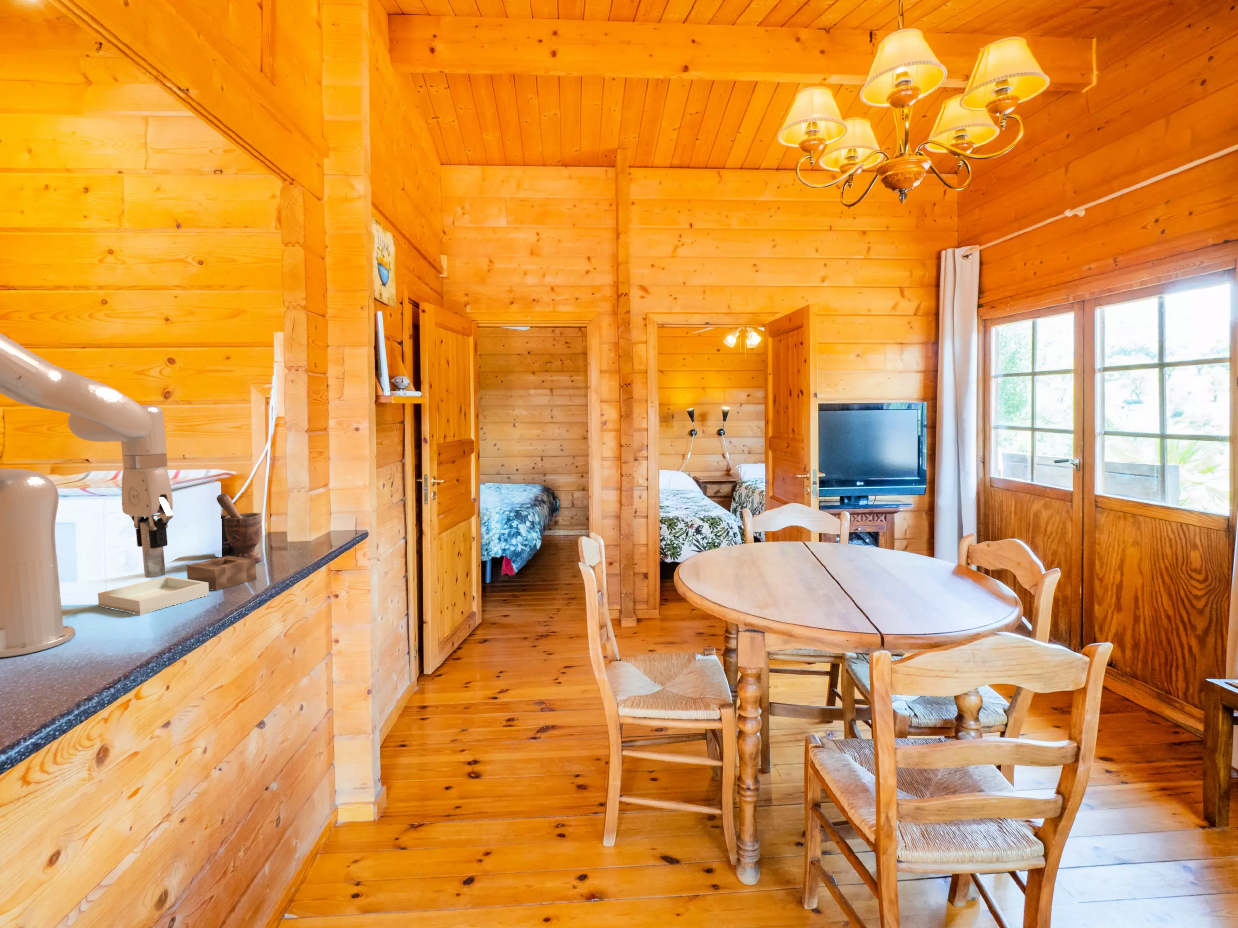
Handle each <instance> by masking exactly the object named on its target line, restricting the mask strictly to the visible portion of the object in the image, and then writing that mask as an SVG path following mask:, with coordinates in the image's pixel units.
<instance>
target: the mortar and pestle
mask: <svg viewBox="0 0 1238 928" xmlns="http://www.w3.org/2000/svg"><path fill="white" fill-rule="evenodd" d="M216 501H217V503H218V504H219V506H220V508H222V509H223V510H224V511H225V513H228V515H229V516H226V517H225V518H224V520H225V523H224V524H225V532H226V536H227V539H228V541H229V544H230V545H231V546H232V547H234V548H235V549H236V554H235V555H234V556H233V557H241V558H248V559H255V561H256V563H260V562H262V561H263V556H262V554H261V553H259V552H258V551H256V547H257V545H259V544H260V542H261V539H262V538H261V537H262V534H263V524H262V523H263V521H262V513H261V512H244V513H242V512H241V513H240V512H238V509H237V508H236V506H235V504H234V502H233V500H232V498H231V497H230V495H228V494H226V493H219V495H217V497H216Z"/></svg>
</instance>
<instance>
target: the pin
mask: <svg viewBox="0 0 1238 928" xmlns="http://www.w3.org/2000/svg"><path fill="white" fill-rule="evenodd" d="M155 521H157V519H155ZM140 528H141V540H142V547H141V549H142V559H143V563H142V564H143V571H144V572H143V573H144V578H146V579H150V578H151V579H152V578H153V579H155V578H161V577H164V576H166V567H165V555H164V554H165V553H164V547H159V548H154V549H152V548H150V540H149V530H151V527H150V522H149V521H143V522H140Z"/></svg>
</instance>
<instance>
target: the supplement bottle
mask: <svg viewBox="0 0 1238 928" xmlns="http://www.w3.org/2000/svg"><path fill="white" fill-rule="evenodd" d="M220 514H221V519H222V557H225V556H234V555H235V554H236V549H235V548H234V547H232V546H231V545H230V544H229V541H228V539H227V536H226V532H225V524H224V523H225V520H224V518H225V517H226V516H229V515H228V513H227V512H224V513H220Z"/></svg>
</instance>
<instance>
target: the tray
mask: <svg viewBox="0 0 1238 928" xmlns="http://www.w3.org/2000/svg"><path fill="white" fill-rule="evenodd" d="M207 595H209V596H210V590H209V585H208V582H202V581H196V580H189V579H187V578H182V577H176V576H171V575H168V576H167V575H165V576H161V577H157V578H153V579H151V580H146V581H143V582H139V583H135V584H129V585H126V586H122V587H118V588H114V589H109V590H105V591H102V592H101V591H100V592H98V593H97V599H98V607H99V606H104V607H108V608H114V609H118V610H123V611H126V612H131V613H135V614H134V615H136V614H139V615H138V616H143V615H146V614H145V613H147V614H149V613H148V612H150V613H153V612H152V611H154V612H156V611H155V610H157V611H159V610H158V609H161V608H164V609H166V608H165V607H168V606H171V607H173V606H172V605H175V606H177V605H176V604H178V605H181V604H180V603H182V604H184V603H183V602H185V603H187V602H186V601H188V602H190V601H189V600H192V601H194V600H193V599H195V600H197V599H196V598H199V599H201V598H200V597H202V598H205V597H204V596H206V597H208V596H207ZM168 608H169V607H168ZM161 610H162V609H161ZM126 612H125V613H126ZM131 613H130V614H131ZM142 614H143V615H142Z"/></svg>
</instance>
